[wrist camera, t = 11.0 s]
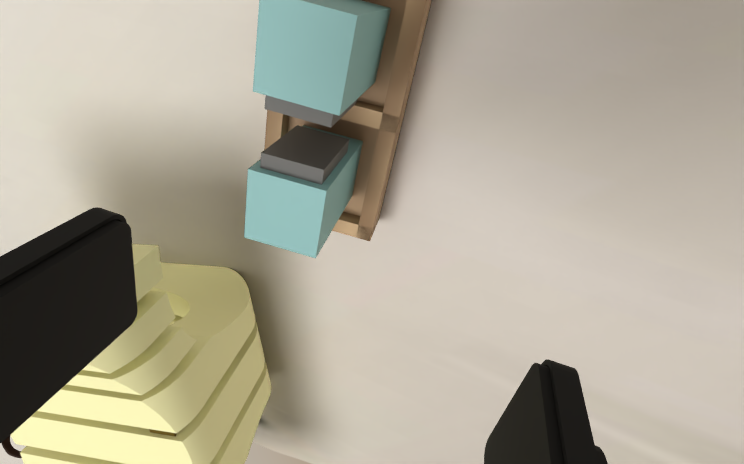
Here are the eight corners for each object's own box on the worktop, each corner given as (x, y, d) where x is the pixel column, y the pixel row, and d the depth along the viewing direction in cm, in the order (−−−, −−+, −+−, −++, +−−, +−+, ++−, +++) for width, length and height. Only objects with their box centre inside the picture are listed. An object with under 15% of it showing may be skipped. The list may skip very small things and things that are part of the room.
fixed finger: (365, 129, 27) (328, 175, 20) (352, 196, 30) (315, 258, 23) (304, 113, 27) (248, 153, 21) (296, 180, 30) (244, 237, 23)
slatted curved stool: (296, 434, 47) (213, 644, 32) (168, 414, 51) (36, 597, 35) (242, 177, 33) (45, 337, 18) (67, 172, 36) (-226, 305, 21)
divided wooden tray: (440, -34, 24) (435, -37, 21) (378, 219, 32) (369, 241, 30) (302, -66, 24) (281, -73, 22) (277, 191, 33) (259, 209, 30)
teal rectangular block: (309, 78, 26) (251, 109, 19) (321, -11, 24) (260, -11, 17) (372, 95, 26) (336, 133, 19) (391, 8, 24) (357, 15, 17)
